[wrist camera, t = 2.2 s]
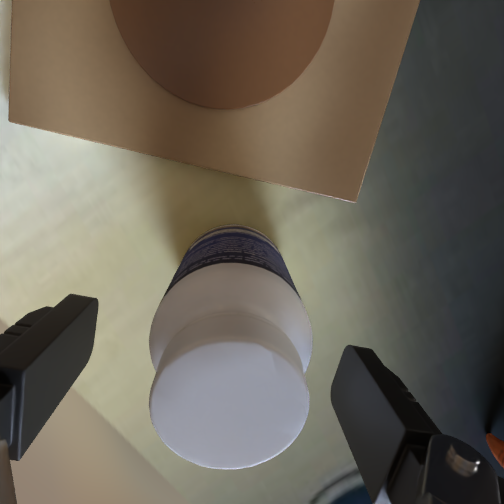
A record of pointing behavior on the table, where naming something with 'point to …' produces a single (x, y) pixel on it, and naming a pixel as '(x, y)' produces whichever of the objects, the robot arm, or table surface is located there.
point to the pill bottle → (230, 353)
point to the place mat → (216, 81)
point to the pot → (496, 447)
